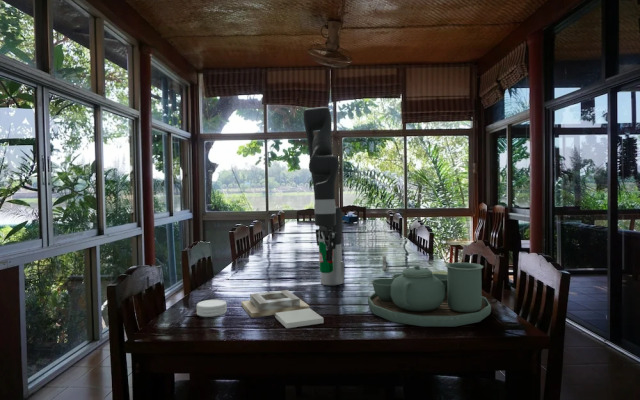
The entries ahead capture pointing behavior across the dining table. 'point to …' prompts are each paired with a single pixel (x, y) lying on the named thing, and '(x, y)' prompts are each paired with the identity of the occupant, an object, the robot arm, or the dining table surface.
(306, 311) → the tile
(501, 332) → the dining table surface
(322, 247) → the soda can
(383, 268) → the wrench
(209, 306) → the white ribbed disc
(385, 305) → the tea set
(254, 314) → the socket board
